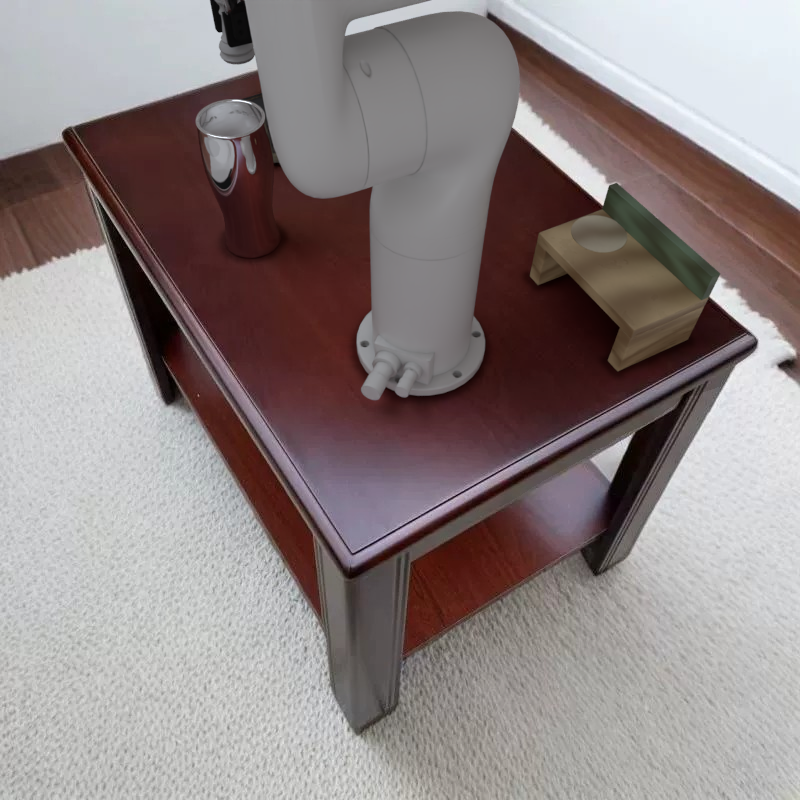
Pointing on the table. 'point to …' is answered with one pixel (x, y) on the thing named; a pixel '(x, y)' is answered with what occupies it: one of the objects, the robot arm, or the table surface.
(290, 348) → the table surface
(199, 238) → the table surface
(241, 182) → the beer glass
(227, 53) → the rook chess piece
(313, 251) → the table surface
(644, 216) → the shelf
